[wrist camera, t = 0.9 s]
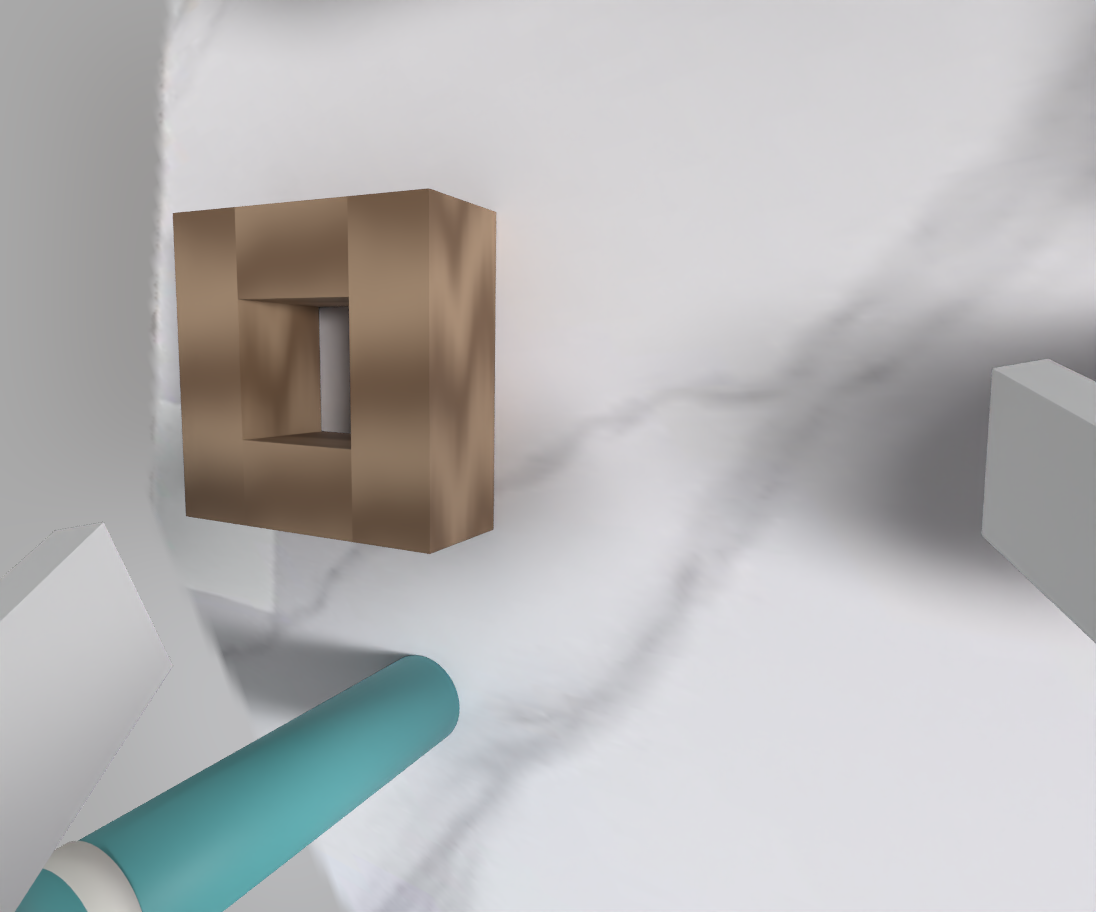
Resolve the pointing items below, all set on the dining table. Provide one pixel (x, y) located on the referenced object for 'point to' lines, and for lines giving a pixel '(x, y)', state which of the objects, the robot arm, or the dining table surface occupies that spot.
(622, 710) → the dining table surface
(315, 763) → the peg
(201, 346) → the socket block
